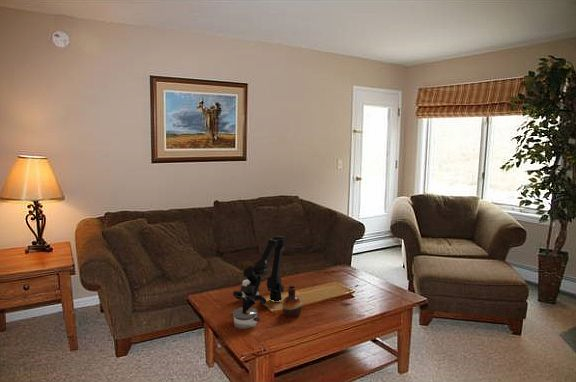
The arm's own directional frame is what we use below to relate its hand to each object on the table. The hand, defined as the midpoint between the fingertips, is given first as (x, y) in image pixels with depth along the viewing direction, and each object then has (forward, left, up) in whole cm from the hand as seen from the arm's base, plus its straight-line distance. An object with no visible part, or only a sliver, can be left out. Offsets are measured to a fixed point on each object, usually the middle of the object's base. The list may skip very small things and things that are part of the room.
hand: (243, 312), depth 207 cm
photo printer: (+2, -33, -7) cm, 34 cm away
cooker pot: (-1, -1, -7) cm, 7 cm away
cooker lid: (-1, -1, -1) cm, 2 cm away
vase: (-25, -13, -7) cm, 29 cm away
